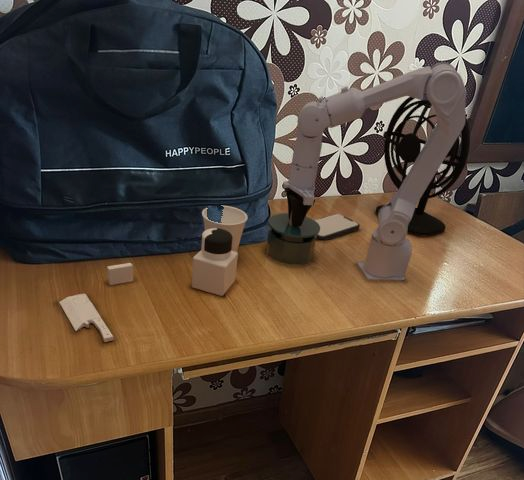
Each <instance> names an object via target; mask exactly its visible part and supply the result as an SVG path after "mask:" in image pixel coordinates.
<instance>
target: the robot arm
mask: <svg viewBox="0 0 524 480" xmlns="http://www.w3.org/2000/svg"><path fill="white" fill-rule="evenodd" d="M423 94H425V95H426V97H427V100H429V101H430V103H431V104H432V105H431V106H432V107H433V110H434V115H436V117H435V118H436V124H435V125H434V126H435V127H434V129H432V131H431V133H430V135H429V136H428V137H427V140H425V141H426V143H425V144H423V147H421V151H420V153H419V155H418V157H417V159H416V160H415V162H414V163H413V164H412V166H411V168H410V169H409V171H408V172H407V173H406V175H407V176H406V178H405V180H404V181H403V183H402V185H401V187H400V188H399V189H397V192H396V193H394V194H393V195H392V197H391V198H390V200H389V201H388V202H387V203H385V204H386V205H385V204H384V205H385V206H383V207H382V208H381V209H380V211H379V213H378V215H377V222H378V223H377V228H375V230H373V231H372V234H371V238H370V241H369V245H368V249H367V252H366V256H365V259H364V261H358V262H357V265H358V267H359V268H360V269H361V271H362V272H363V274H364V275H365V277H366V278H367V279H368V280H400V281H403V282H404V281H405V280H406V277H405V275H406V272H407V270H408V268H409V267H408V266H409V263H410V260H411V258H412V253H413V245H412V242H411V240H410V239H408V238H407V235H408V232H407V229H408V224H409V222H410V221H411V219H412V216H413V213H414V210H415V207H416V208H417V206H418V203H419V200H420V198H421V196H422V195H423V193H424V192H425V190H426V188H427V187H428V185H429V183H430V182H431V180H432V178H433V177H434V175H435V174H436V172H437V173H438V171H439V168H440V167H441V165H443V164H442V162H443V160H446V158H445V157H446V156H447V154H448V152H449V151H450V149H451V147H452V146H453V144H454V142H455V141H456V139H457V138H458V136H459V137H460V135H461V131H462V129H463V127H464V125H465V115H466V102H467V101H466V99H467V94H468V93H467V88H466V86H465V83H464V80H463V77H462V75H461V74H460V73H459V72H458V71H457V70H456V68H455V67H454V65H452V64H450V63H449V62H443V61H442V62H438V63H436V64H433V65H432V66H430V65H427V66H423V67H420V68H417V69H414V70H411V71H408V72H405V73H403V74H401V75H399V76H396V77H394V78H391V79H389V80H386V81H384V82H382V83H379V84H376V85H375V86H372V87H370V88H367V89H365V90H360V89H358V88H357V87H351V88H349V86H347V85H346V86H343V87H341V89H340V92H336V93H335V94H331V95H329V96H327V97H324V96H323V95H322V96H320V97H318V98H317V101H316V100H313V101H309V102H307V103H306V104H305V105H303V107H302V108H301V109H300V112H299V113H298V117H297V122H296V123H297V131H296V138H295V140H294V146H293V151H292V152H293V153H292V159H291V166H290V171H289V175H288V180H287V181H286V180H285V181H283V182H282V185H283V187H284V192H285V195H286V200H287V213H288V216H289V220H290V216H291V210H292V218H291V221H292V226H301V225H302V223H303V221H304V219H305V216H306V217H307V215H308V212H309V211H310V209H311V208H312V207H313V206H314V205H315V203H316V199H315V195H314V193H315V190H316V179H317V173H318V168H319V163H320V157H321V153H322V147H323V143H322V142H323V141H322V140H323V134H324V131H325V129H326V128H327V129H328V128H329V129H332V128H335V127H338V126H341V125H344V124H346V123H349V122H352V121H356V120H358V119H361V118H362V117H363V115H364V113H365V111H366V110H367V109H370V108H373V107H376V106H378V105H381V104H384V103H388V102H391V101H394V100H398V99H401V98H404V97H408V98H409V97H413V98H415V99H416V100H418V101H420V100H424V95H423ZM437 170H438V171H437Z"/></svg>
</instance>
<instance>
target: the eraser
mask: <svg viewBox="0 0 524 480" xmlns="http://www.w3.org/2000/svg"><path fill="white" fill-rule="evenodd" d="M106 270H107V282H108V284H109V286H113V285H119V284H125V283H130V282H134V265H133V264H132V263H131V262H127V263H121V264H114V265H109V266H106Z"/></svg>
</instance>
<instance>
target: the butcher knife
mask: <svg viewBox="0 0 524 480" xmlns="http://www.w3.org/2000/svg"><path fill="white" fill-rule="evenodd" d="M58 303H59V306H61V309H62V310H63V311H64V313H65V315H66V317H67V319H68V321H69V322H70V324H71V325H72V327H73V329H74V331H75V332H77V331H80V329H82V328H84V327H85V328H87V329H88V328H90V324H92V325H94V327H95V328H96V329H97V330H98V331H99V333H100V336H101V338H102V340H103V343H108V342H112V341H115V338H114V335H113V334H112V332H111V331H110V329H109V327H108V326H107V324H106V323H105V321H104V319H102V316H101V314H100V313H99V311H98V310H97V309H96V307H95V305H94V304H93V303H92V301H91V300H90V298H89V297H88V295H87V294H86V293H80V294H75V295H69V296H67V297H65V298H63V299H61V300H60V301H58Z"/></svg>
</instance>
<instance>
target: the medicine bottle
mask: <svg viewBox="0 0 524 480" xmlns="http://www.w3.org/2000/svg"><path fill="white" fill-rule="evenodd" d="M232 239H233V237H232V235H231V233H230V232H228V231H226V230H224V229H220V228H211V229H207V230H205V229H204V231H202V234H201V247H200V248H201V249H200V251H198V252H197V253H196V254H195V255H194V256H193V257H192V274H191V288H193V289H196V290H199V291H203V292H207V293H210V294H213V295H216V296H220V297H223V296H225V295H226V292H227V291H228V290H229V289H230V287H231V286H232V285H233V284H234V282H235V281H236V276H237V266H238V259H239V258H238V256H239V253H238V251H237V252H234V251H231V249H232Z"/></svg>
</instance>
